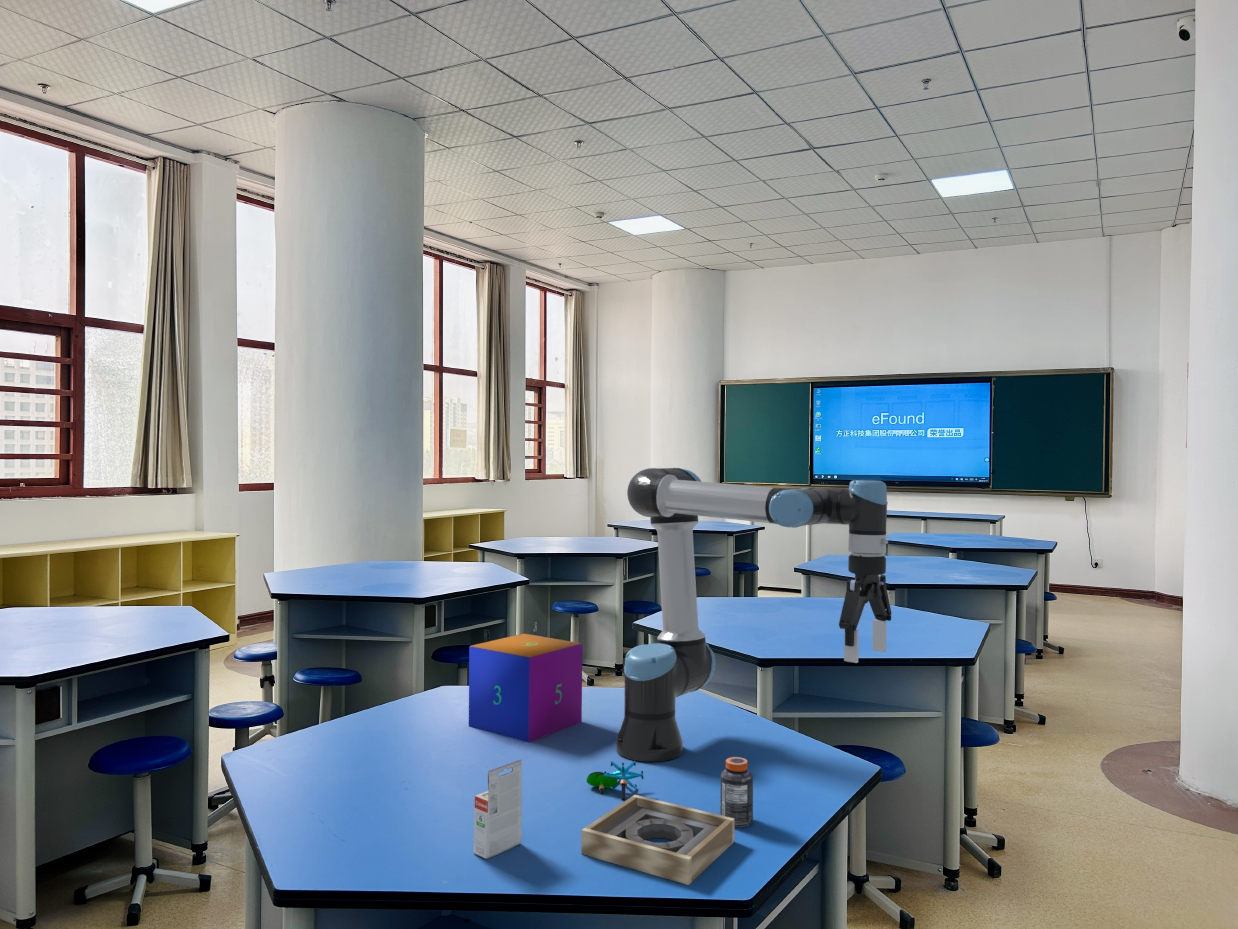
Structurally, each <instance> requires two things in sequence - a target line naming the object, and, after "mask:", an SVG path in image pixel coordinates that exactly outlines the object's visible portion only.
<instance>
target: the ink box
mask: <svg viewBox="0 0 1238 929" xmlns="http://www.w3.org/2000/svg"><path fill="white" fill-rule="evenodd" d="M505 769H506V770H510V769H511V771H510V772H507V773H505V774H502V775H499V774H500V773H502V772H504V770H505ZM522 774H523V766H522V759H519V760H516V761H514V762H510V763H507V764H505V765H502V766H500V767H496V768H494V769H492V770H488V771H487V786H488V787H487V788H488V790H486V791H484V792H481V793H478V794H475V795H474V808H473V810H474V814H473V815H474V816H473V818H474V820H473V854H475V855H476V856H479V857H481V858H483V859H485V860H488V859H490V858H493V857H495V856H498V855H500V854H502V853H504V852H506V851H508V850H510V849H513V848H515V847H516V846H518V845H520V844H522V830H523V829H522V828H523V827H522V816H523V815H522V810H523V809H522V808H523V801H522V800H523V797H522V796H523V788H522V782H523V781H522V780H523V779H522V776H523V775H522Z"/></svg>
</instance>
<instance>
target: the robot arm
mask: <svg viewBox="0 0 1238 929" xmlns="http://www.w3.org/2000/svg"><path fill="white" fill-rule="evenodd" d="M626 490H627V491H626V492H627V493H626V494H627V500H628V503H629V505H630V507H631V508H632V509H633V511H635V512H636V513H637V514H639V515H641V516H642V517H646V518H650V526H651V527H652V528H654V529H655V530H656V532H657V546H658V547H657V548H658V549H657V551H658V566H659V584H660V599H661V601H660V602H661V617H662V619H661V620H662V631H661V632H660V633H659V635H658V636H657V643H656V642H651V643H648V644H640V645H636V646H634V647H633V648H631V649H629V650H628V652H627V653H626V655H625V659H624V667H623V673H624V714H623V720H622V722H621V726H620V729H619V732H618V734H617V738H616V745H615V746H616V753H617V754H618V755H620V756H621V757H623V758H625V759H628V760H633V761H638V762H647V763H649V762H657V763H658V762H664V761H671V760H674V759H676V758H679V757H680V756H681V755H682V754H683V751H684V750H683V746H684V744H683V738H682V735H681V733H680V728H679V725H678V722H677V719H676V698H678V697H681V696H684V695H686V694H688V693H693V692H696V691H699V690H700V689H701V688H703V687H705V686H706V685H707V684H708V683H709V682H710V681H711V680H712V678H713V676H714V674H715V669H716V656H715V654H714V652H713V650H712V649H711V648H710V646H709V644H708V643H706V634H705V633H704V632H702V631H701V629H700V627H699V615H698V600H697V584H696V567H695V552H694V550H695V548H694V534H693V531H694V530H693V529H694V528H695V527H696V526H697V524H698V523H699V517H707V518H718V519H728V520H738V521H746V522H756V523H766V524H774V525H778V526H781V527H785V528H799V527H805V526H812V525H819V524H820V525H821V524H827V525H829V524H830V525H831V524H832V525H843V526H844V525H848V549H847V550H848V552H849V553H850V554H849V556H848V567H847V568H848V570H847V571H848V572H849V573H850V574H854V575H855V576H854V579H848V580H846V591H845V596H844V600H843V605H842V608H841V614H840V617H839V622H838V627H839V629H841V630H844V636H843V637H844V639H843V641H844V644H843V651H844V652H843V656H844V657H843V662H847V663H855V664H857V663H859V644H860V641H859V635H860V634H859V633H860V630H858V629H857V628H858V625H859V622H860V620H861V617H862V614H863V611H864V607H865V605H866V604H868V603H869V606H870V607H871V611H872V613H873V616H874V618H875V619H872V651H876V652H881V653H886V652H887V622H890V621H892V609H891V603H890V598H889V593H888V589H887V578H886V577H887V576H886V575H885V574H886V572H887V558H886V556H885V555H884V554H886V553H887V544H889V540H888V539H887V522H888V521H887V519H888V518H887V517H888V516H887V515H888V505H889V504H888V497H887V484H886V483H885V482H884V481H881V480H863V479H862V480H851V481H850V482H849V487H848V488H844V489H841V488H826V487H825V488H822V487H821V488H820V487H815V486H813V487H803V488H798V489H797V488H787V487H786V488H781V487H772V486H771V487H769V486H760V485H747V484H746V485H745V484H733V483H720V482H710V481H702V480H701V478H700V477H699V476H698V475H697V474H696V473H695V472H693V471H691V470H689V469H687V468H686V469H685V468H681V467H669V468H668V467H665V468H664V467H663V468H662V467H661V468H658V467H657V468H656V467H655V468H654V467H650V468H646V469H645V468H644V469H641V470H639V471H638V472H637V473H636V474H635V475H633V476H632V477H631V479H630V481H629V483H628V486H627V489H626Z"/></svg>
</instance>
